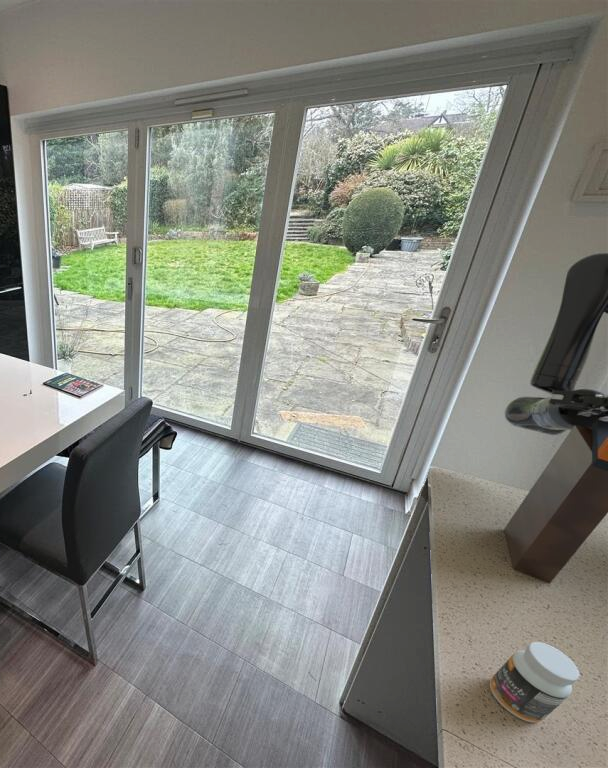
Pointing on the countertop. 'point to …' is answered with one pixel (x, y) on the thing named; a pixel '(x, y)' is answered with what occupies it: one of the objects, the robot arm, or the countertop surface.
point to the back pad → (600, 445)
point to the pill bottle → (534, 681)
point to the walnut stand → (559, 509)
